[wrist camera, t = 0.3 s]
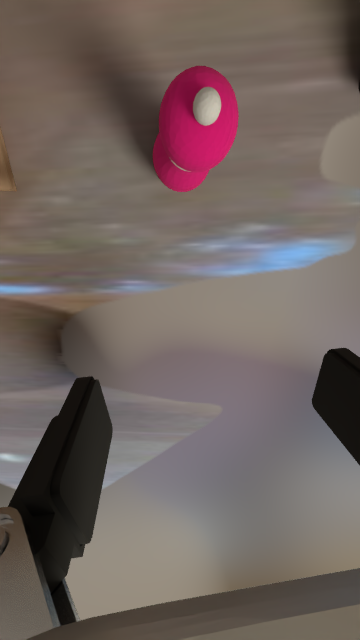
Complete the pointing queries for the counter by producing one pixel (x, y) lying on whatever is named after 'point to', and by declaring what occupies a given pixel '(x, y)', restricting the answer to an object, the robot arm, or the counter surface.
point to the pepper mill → (194, 127)
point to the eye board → (5, 169)
